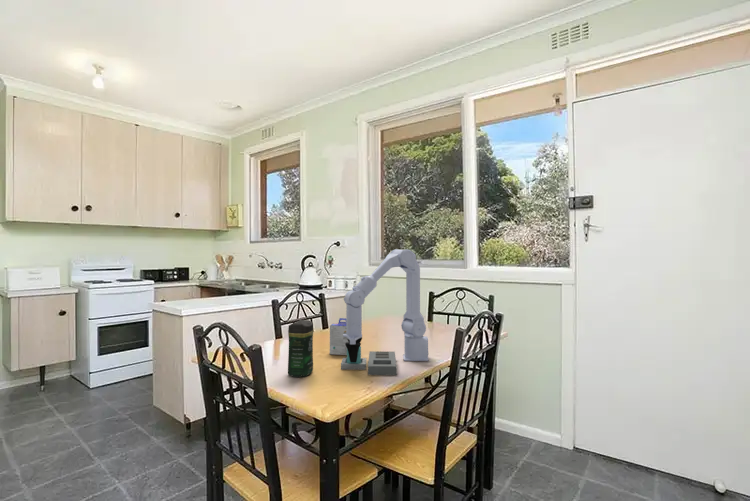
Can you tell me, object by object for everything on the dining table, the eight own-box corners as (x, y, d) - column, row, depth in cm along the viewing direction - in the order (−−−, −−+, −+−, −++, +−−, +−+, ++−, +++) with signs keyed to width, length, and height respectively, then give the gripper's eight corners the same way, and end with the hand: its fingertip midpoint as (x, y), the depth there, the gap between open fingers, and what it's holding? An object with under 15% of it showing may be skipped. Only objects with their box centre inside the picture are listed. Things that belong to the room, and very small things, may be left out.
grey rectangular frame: (366, 363, 154) (366, 358, 153) (365, 369, 146) (365, 364, 145) (342, 363, 154) (342, 357, 154) (340, 369, 146) (340, 363, 146)
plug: (360, 364, 152) (361, 342, 151) (360, 368, 148) (360, 345, 147) (347, 364, 152) (347, 342, 152) (346, 368, 148) (346, 344, 148)
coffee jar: (307, 378, 135) (307, 323, 135) (284, 377, 137) (284, 322, 137) (316, 370, 145) (316, 318, 145) (295, 368, 146) (295, 318, 146)
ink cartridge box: (355, 352, 169) (355, 318, 169) (352, 356, 164) (352, 320, 164) (333, 351, 171) (333, 317, 171) (329, 354, 166) (329, 319, 166)
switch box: (394, 359, 159) (394, 351, 159) (396, 375, 139) (396, 365, 139) (369, 358, 159) (369, 350, 159) (367, 374, 139) (367, 365, 139)
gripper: (345, 319, 157) (345, 354, 157) (341, 326, 142) (341, 364, 142) (363, 319, 157) (363, 354, 157) (361, 326, 142) (361, 365, 142)
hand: (354, 359), depth 150 cm, fingers open, 6 cm apart
